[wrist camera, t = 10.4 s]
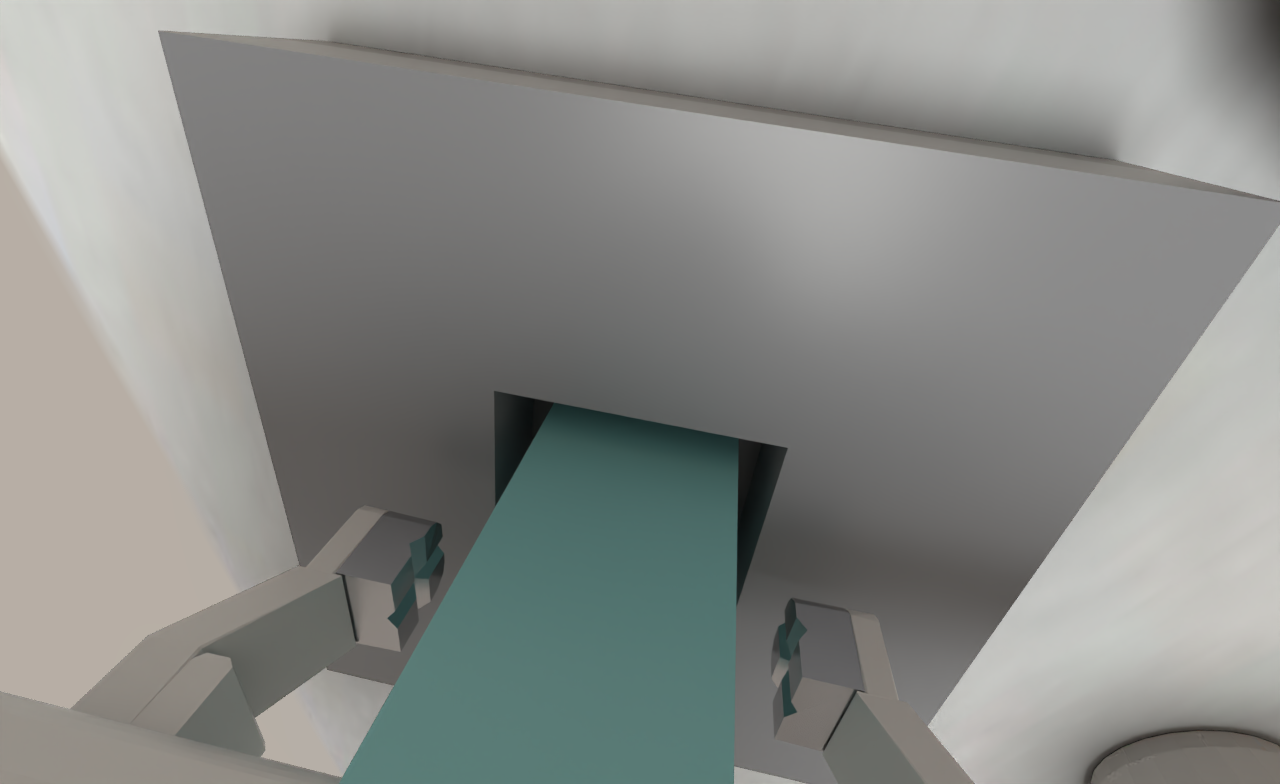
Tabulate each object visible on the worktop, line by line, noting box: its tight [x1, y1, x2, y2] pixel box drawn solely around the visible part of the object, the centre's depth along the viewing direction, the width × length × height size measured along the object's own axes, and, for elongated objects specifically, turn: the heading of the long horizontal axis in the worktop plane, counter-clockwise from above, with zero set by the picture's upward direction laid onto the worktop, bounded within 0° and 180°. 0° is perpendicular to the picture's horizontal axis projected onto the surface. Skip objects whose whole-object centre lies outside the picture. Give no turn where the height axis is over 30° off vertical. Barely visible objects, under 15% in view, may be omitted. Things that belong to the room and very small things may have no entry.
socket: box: [158, 31, 1280, 784], centre depth 14 cm, size 16×16×4 cm
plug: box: [339, 403, 739, 784], centre depth 10 cm, size 4×4×9 cm
